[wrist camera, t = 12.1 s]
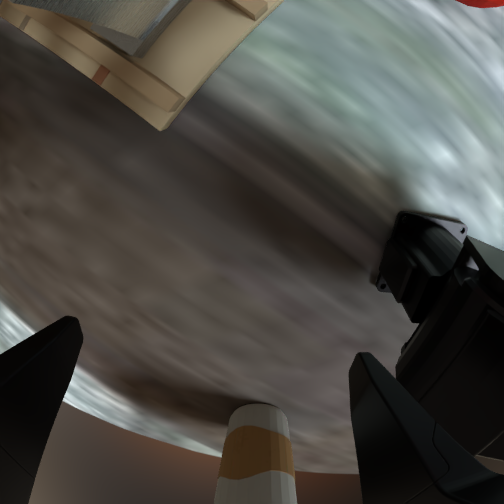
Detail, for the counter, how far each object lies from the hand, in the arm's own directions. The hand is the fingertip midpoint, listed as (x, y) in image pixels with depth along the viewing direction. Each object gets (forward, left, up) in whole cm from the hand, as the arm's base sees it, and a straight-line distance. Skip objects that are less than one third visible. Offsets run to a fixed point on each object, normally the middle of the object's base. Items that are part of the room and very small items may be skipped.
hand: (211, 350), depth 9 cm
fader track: (+10, -15, -13) cm, 22 cm away
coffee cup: (-4, +24, -13) cm, 28 cm away
